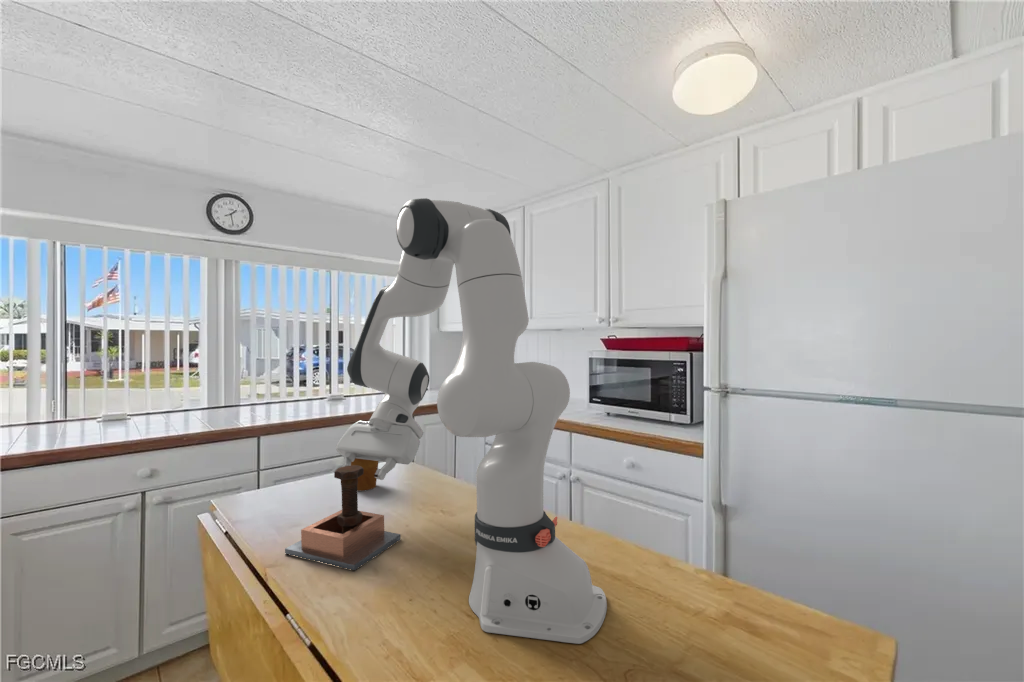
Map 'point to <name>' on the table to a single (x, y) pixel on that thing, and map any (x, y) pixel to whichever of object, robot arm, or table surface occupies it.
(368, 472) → the disposable coffee cup
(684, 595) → the table surface
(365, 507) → the table surface
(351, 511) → the bolt
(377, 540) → the socket
